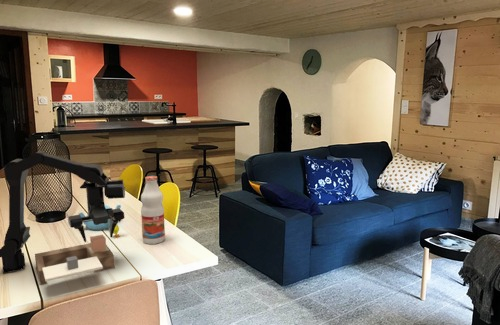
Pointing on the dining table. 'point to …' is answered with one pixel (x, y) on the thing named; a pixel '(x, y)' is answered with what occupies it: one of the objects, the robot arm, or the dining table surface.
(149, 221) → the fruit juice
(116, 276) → the dining table surface
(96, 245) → the block
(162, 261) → the dining table surface
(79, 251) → the brown shallow open box
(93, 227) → the teapot
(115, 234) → the toy figure
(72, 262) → the cover
